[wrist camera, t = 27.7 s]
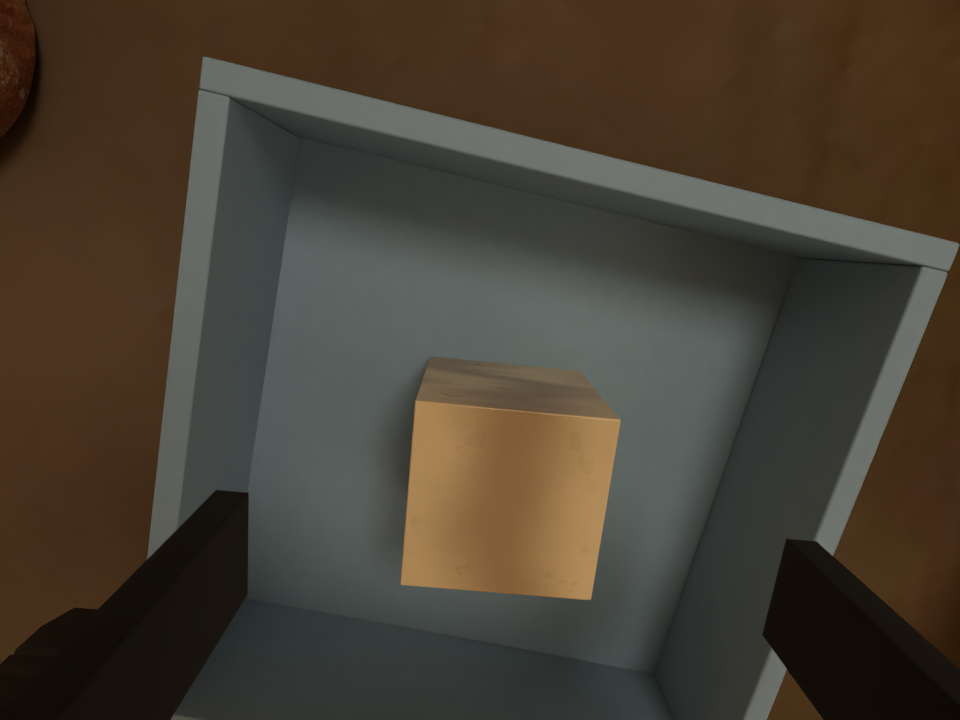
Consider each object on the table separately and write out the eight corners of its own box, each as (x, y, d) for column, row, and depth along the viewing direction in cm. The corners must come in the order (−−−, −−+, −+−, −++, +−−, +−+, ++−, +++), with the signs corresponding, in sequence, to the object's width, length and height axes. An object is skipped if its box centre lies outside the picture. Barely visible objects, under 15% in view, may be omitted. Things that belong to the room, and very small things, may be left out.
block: (417, 496, 23) (400, 585, 17) (429, 355, 22) (414, 400, 16) (560, 508, 23) (591, 601, 17) (581, 370, 22) (621, 419, 16)
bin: (286, 111, 20) (201, 54, 14) (816, 241, 21) (961, 243, 15) (216, 600, 24) (127, 727, 18) (661, 682, 26) (723, 827, 19)
